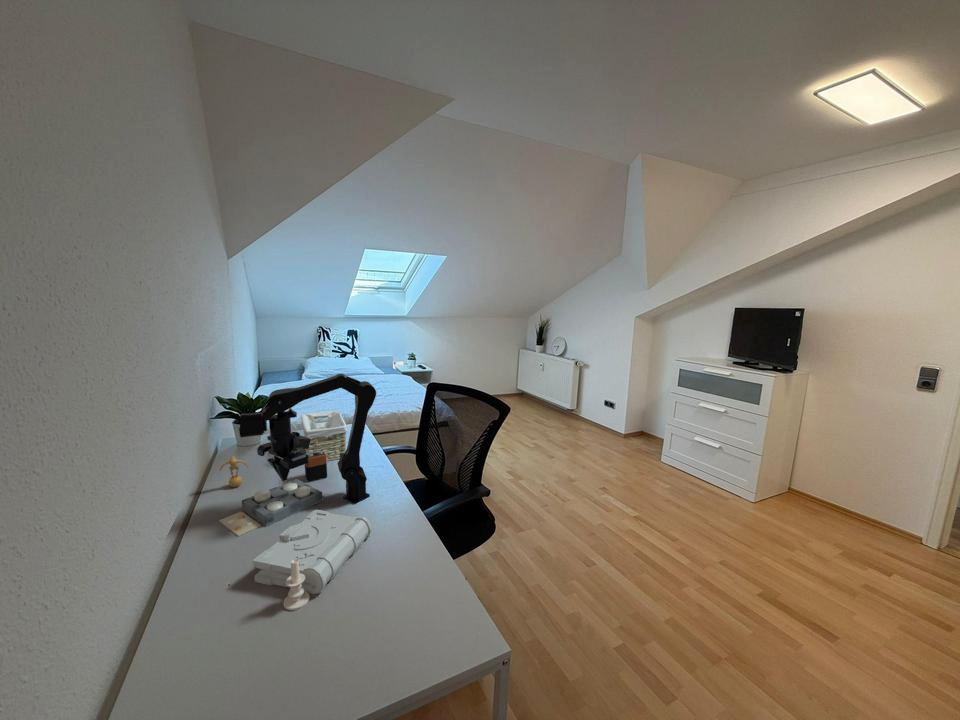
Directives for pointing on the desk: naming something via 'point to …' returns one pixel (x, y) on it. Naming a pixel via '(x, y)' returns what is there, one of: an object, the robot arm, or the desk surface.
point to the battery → (316, 466)
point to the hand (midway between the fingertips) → (284, 480)
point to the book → (313, 550)
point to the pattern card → (239, 523)
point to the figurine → (236, 479)
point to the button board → (289, 503)
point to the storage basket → (325, 433)
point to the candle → (296, 589)
